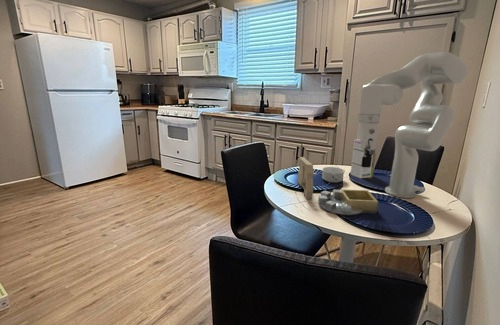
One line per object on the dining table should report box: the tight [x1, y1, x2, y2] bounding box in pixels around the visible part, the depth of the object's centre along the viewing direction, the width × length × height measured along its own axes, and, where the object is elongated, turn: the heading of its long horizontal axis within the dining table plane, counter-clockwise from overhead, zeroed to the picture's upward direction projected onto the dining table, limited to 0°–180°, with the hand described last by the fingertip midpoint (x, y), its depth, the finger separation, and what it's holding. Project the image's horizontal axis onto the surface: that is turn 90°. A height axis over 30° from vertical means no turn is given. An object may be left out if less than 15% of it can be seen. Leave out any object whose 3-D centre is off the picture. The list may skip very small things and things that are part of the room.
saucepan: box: [321, 166, 345, 184], centre depth 136 cm, size 12×20×6 cm, turn 168°
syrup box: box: [350, 139, 376, 179], centre depth 104 cm, size 6×6×14 cm
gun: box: [297, 156, 315, 200], centre depth 125 cm, size 24×3×15 cm, turn 179°
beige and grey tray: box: [317, 188, 379, 217], centre depth 109 cm, size 21×18×5 cm
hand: (362, 163), depth 105 cm, fingers closed on syrup box, 7 cm apart
